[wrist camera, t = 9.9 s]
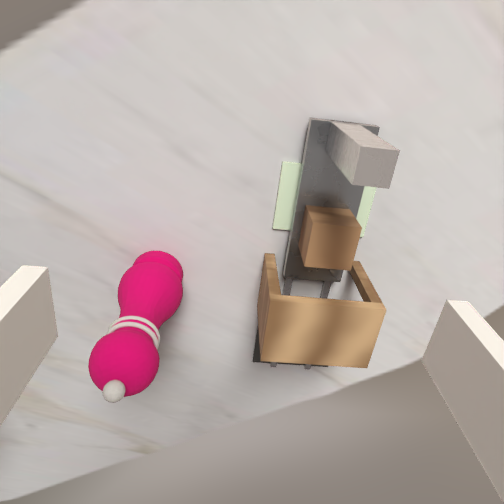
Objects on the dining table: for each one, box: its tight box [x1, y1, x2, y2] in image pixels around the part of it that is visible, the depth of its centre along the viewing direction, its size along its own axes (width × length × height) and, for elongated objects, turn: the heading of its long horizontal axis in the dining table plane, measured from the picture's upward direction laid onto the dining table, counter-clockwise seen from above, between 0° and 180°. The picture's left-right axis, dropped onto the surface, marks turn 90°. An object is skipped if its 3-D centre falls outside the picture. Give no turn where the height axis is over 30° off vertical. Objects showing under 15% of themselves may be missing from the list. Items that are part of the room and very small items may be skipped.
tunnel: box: [257, 253, 386, 368], centre depth 46 cm, size 12×8×10 cm, turn 84°
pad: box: [273, 162, 376, 237], centre depth 45 cm, size 11×8×1 cm
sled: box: [283, 118, 400, 282], centre depth 39 cm, size 7×18×12 cm, turn 174°
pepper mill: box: [88, 251, 183, 403], centre depth 40 cm, size 7×7×20 cm
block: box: [298, 205, 362, 271], centre depth 42 cm, size 5×5×5 cm
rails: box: [270, 278, 331, 369], centre depth 49 cm, size 6×32×1 cm, turn 174°
